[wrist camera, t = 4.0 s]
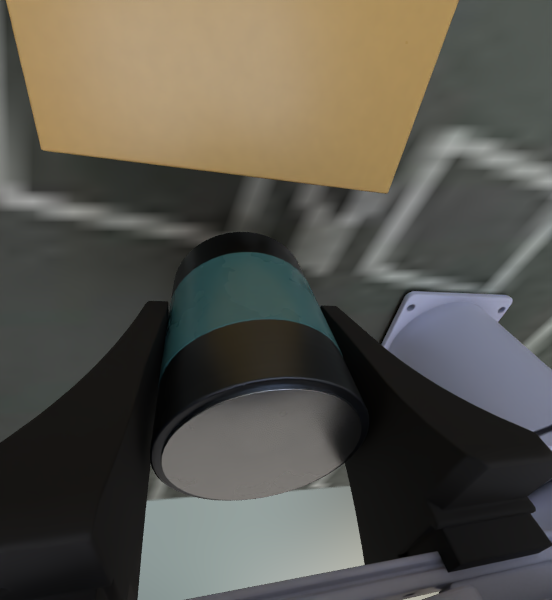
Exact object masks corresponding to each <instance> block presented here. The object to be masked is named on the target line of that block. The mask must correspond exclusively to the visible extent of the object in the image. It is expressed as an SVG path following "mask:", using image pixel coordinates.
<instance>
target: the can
mask: <svg viewBox="0 0 552 600" xmlns="http://www.w3.org/2000/svg"><path fill="white" fill-rule="evenodd" d="M368 429H369V414H368V410H367V408H366V406H365V404H364V401H363V399H362V397H361V395H360V393H359V391H358V389H357V387H356V384H355V382H354V380H353V378H352V376H351V374H350V372H349V370H348V367H347V365H346V363H345V361H344V359H343V355H342V353H341V351H340V349H339V347H338V345H337V343H336V340H335V338H334V336H333V334H332V332H331V330H330V328H329V326H328V324H327V321H326V319H325V317H324V315H323V313H322V311H321V309H320V307H319V305H318V302H317V300H316V298H315V296H314V294H313V292H312V290H311V288H310V286H309V283H308V282H307V280H306V278H305V276H304V274H303V272H302V270H301V268H300V266H299V264H298V261H297V260H296V258H295V257H294V255H293V254H292V253H291V252H290V251H289V250H288V249H287V248H286V247H285V246H284V245H282V244H281V243H279V242H278V241H276V240H274V239H272V238H270V237H267V236H265V235H261V234H257V233H251V232H233V233H226V234H222V235H218V236H215V237H213V238H210V239H208V240H206V241H204V242H202V243H201V244H199V245H198V246H197V247H195V248H194V249H193V250H192V251H191V252H189V253H188V255H187V256H186V257H185V258H184V259H183V261H182V262H181V264H180V266H179V267H178V270H177V272H176V275H175V280H174V285H173V292H172V299H171V304H170V309H169V317H168V324H167V330H166V337H165V343H164V350H163V357H162V364H161V371H160V378H159V386H158V397H157V404H156V411H155V418H154V425H153V432H152V439H151V446H150V462H151V466H152V469H153V470H154V472H155V474H156V475H157V477H158V478H159V479H160V480H161V481H162V482H163V483H165V484H166V485H167V486H169V487H170V488H172V489H174V490H176V491H178V492H181V493H183V494H186V495H190V496H193V497H198V498H203V499H211V500H247V499H256V498H262V497H267V496H272V495H277V494H280V493H284V492H288V491H291V490H294V489H297V488H300V487H302V486H305V485H307V484H310V483H312V482H314V481H316V480H318V479H320V478H322V477H324V476H326V475H327V474H329V473H331V472H332V471H334V470H335V469H337V468H338V467H340V466H341V465H342V464H344V463H345V462H346V461H347V460H348V459H349V458H350V457H352V456H353V454H354V453H355V452H356V451H357V450H358V449H359V447H360V446H361V444H362V443H363V441H364V439H365V437H366V435H367V432H368Z"/></svg>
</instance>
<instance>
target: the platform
mask: <svg viewBox="0 0 552 600" xmlns="http://www.w3.org/2000/svg"><path fill="white" fill-rule="evenodd" d="M458 1H459V0H6V3H7V7H8V11H9V15H10V19H11V24H12V28H13V32H14V36H15V40H16V45H17V49H18V53H19V57H20V61H21V66H22V70H23V74H24V78H25V83H26V87H27V91H28V95H29V99H30V104H31V108H32V112H33V116H34V120H35V125H36V129H37V133H38V137H39V141H40V146H41V149H42V150H44V151H50V152H58V153H66V154H74V155H82V156H90V157H98V158H106V159H114V160H122V161H130V162H138V163H146V164H154V165H162V166H170V167H178V168H186V169H194V170H202V171H210V172H217V173H225V174H233V175H241V176H249V177H257V178H265V179H273V180H281V181H289V182H297V183H305V184H313V185H321V186H329V187H337V188H345V189H353V190H361V191H369V192H377V193H385V194H386V193H388V191H389V189H390V186H391V183H392V180H393V178H394V175H395V172H396V170H397V167H398V164H399V161H400V159H401V156H402V153H403V151H404V148H405V145H406V142H407V140H408V137H409V134H410V132H411V129H412V126H413V123H414V121H415V118H416V115H417V113H418V110H419V107H420V104H421V102H422V99H423V96H424V94H425V91H426V88H427V85H428V83H429V80H430V77H431V75H432V72H433V69H434V66H435V64H436V61H437V58H438V55H439V53H440V50H441V47H442V45H443V42H444V39H445V36H446V34H447V31H448V28H449V26H450V23H451V20H452V17H453V15H454V12H455V9H456V7H457V4H458Z"/></svg>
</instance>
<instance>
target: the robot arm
mask: <svg viewBox="0 0 552 600" xmlns="http://www.w3.org/2000/svg"><path fill="white" fill-rule="evenodd" d="M512 300H513V299H512V298H511V297H509V296H508V295H497V294H472V293H447V292H423V291H412V292H410V293H408V294H407V295H406V296H405V297H404V299H403V301H402V303H401V305H400V307H399V309H398V311H397V313H396V315H395V317H394V319H393V322H392V324H391V326H390V328H389V330H388V332H387V334H386V336H385V338H384V340H383V342H382V344H380V343H378V342H377V341H376V340H375V339H374V338H372V337H371V336H370V335H369V334H368V333H367V332H365V331H364V330H363V329H362V328H361V327H360V326H359V325H357V324H356V323H355V322H354V321H353V320H352V319H351V318H350V317H348V316H347V315H346V314H345V313H344V312H343V311H341V310H340V309H339V308H338V307H336V306H321V307H320V309H321V311H322V313H323V315H324V317H325V319H326V321H327V324H328V326H329V328H330V330H331V332H332V334H333V336H334V338H335V340H336V343H337V345H338V347H339V349H340V351H341V353H342V355H343V359H344V361H345V363H346V365H347V367H348V370H349V372H350V374H351V376H352V378H353V380H354V382H355V384H356V387H357V389H358V391H359V393H360V395H361V397H362V399H363V401H364V404H365V406H366V408H367V410H368V414H369V429H368V432H367V435H366V437H365V439H364V441H363V443H362V444H361V446H360V447H359V449H358V450H357V451H356V452H355V453H354V454H353V456H352V457H350V458H349V459H348V460H347V461H346V462H345V465H346V469H347V474H348V478H349V482H350V487H351V492H352V496H353V501H354V506H355V511H356V516H357V522H358V527H359V533H360V539H361V544H362V550H363V556H364V563H365V565H363V566H358V567H353V568H347V569H342V570H337V571H332V572H327V573H321V574H316V575H311V576H306V577H301V578H295V579H290V580H285V581H280V582H275V583H270V584H264V585H259V586H254V587H248V588H243V589H238V590H233V591H228V592H223V593H218V594H212V595H207V596H202V597H196V598H191V599H186V600H403V599H407V598H411V597H416V596H420V595H425V594H429V593H433V592H438V591H439V594H437V595H434V596H431V597H428V598H425V599H422V600H552V370H551V369H550V368H549V367H548V366H547V365H546V364H545V363H543V362H542V361H541V360H540V359H539V358H538V357H537V356H535V355H534V354H533V353H532V352H531V351H530V350H529V349H527V348H526V347H525V346H524V345H523V344H522V343H521V342H519V341H518V340H517V339H516V338H515V337H514V336H513V335H511V334H510V333H509V332H508V331H507V330H506V329H505V328H504V327H502V326H501V325H500V324H499V323H498V321H499V320H500V319H501V317H502V316H503V315H504V313H505V312H506V311H507V309H508V308H509V306H510V305H511V304H512ZM409 305H410V306H409ZM408 306H409V307H408ZM168 317H169V309H168V302H166V301H148V302H147V303H146V304H145V306H144V307H143V309H142V310H141V312H140V313H139V315H138V316H137V317H136V319H135V320H134V322H133V323H132V324H131V326H130V327H129V328H128V329H127V331H126V332H125V333H124V334H123V336H122V337H121V338H120V339H119V340H118V342H117V343H116V344H115V345H114V346H113V347H112V348H111V350H110V351H109V352H108V353H107V354H106V355H105V356H104V357H103V358H102V359H101V360H100V361H99V363H98V364H97V365H96V366H95V367H94V368H93V369H92V370H91V371H90V372H89V373H87V374H86V375H85V376H84V377H83V378H82V379H81V380H80V381H79V382H78V383H77V384H76V385H75V386H73V387H72V388H71V389H70V390H69V391H68V392H66V393H65V394H64V395H63V396H62V397H60V398H59V399H58V400H57V401H56V402H55V403H53V404H52V405H51V406H50V407H48V408H47V409H46V410H45V411H43V412H42V413H41V414H39V415H38V416H37V417H36V418H34V419H33V420H31V421H30V422H29V423H27V424H26V425H25V426H23V427H22V428H20V429H19V430H18V431H16V432H15V433H13V434H12V435H11V436H9V437H8V438H6V439H5V440H4V441H2V442H1V443H0V600H137V598H138V586H139V575H140V563H141V553H142V542H143V531H144V521H145V510H146V501H147V492H148V482H149V473H150V464H151V462H150V446H151V439H152V432H153V425H154V418H155V411H156V404H157V397H158V386H159V378H160V371H161V364H162V357H163V350H164V343H165V337H166V330H167V324H168Z"/></svg>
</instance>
